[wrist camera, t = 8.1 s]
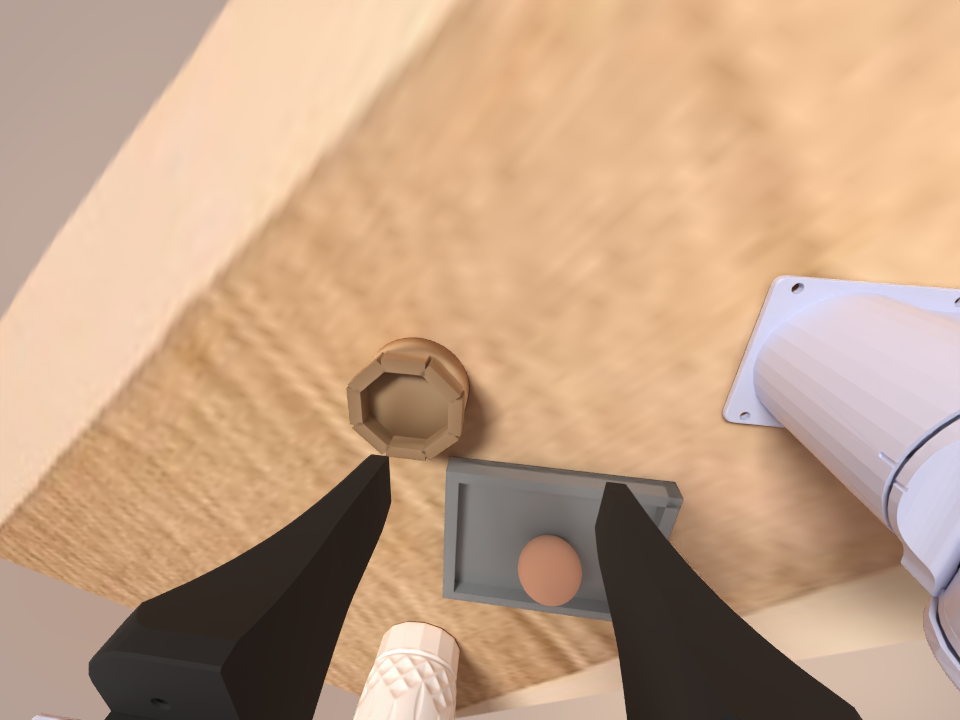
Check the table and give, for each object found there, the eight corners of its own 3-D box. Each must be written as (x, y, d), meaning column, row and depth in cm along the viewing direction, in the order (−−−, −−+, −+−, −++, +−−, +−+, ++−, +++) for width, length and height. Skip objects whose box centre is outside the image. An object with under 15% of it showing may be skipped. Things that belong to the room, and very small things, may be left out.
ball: (568, 516, 26) (576, 572, 22) (584, 557, 27) (593, 616, 24) (510, 527, 27) (508, 583, 23) (528, 566, 28) (529, 624, 25)
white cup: (484, 653, 34) (470, 825, 25) (422, 679, 37) (389, 843, 28) (420, 604, 32) (379, 771, 23) (359, 635, 35) (301, 796, 26)
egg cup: (471, 342, 22) (463, 367, 19) (466, 432, 24) (459, 464, 22) (365, 332, 22) (343, 355, 19) (371, 421, 25) (352, 452, 22)
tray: (675, 482, 24) (683, 499, 23) (631, 605, 30) (636, 624, 28) (450, 456, 25) (446, 471, 24) (446, 580, 30) (442, 597, 29)
